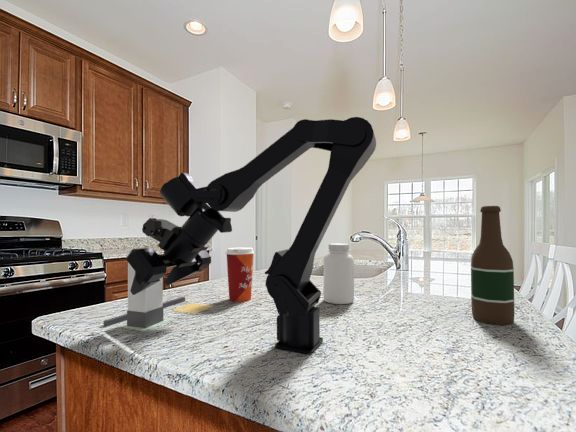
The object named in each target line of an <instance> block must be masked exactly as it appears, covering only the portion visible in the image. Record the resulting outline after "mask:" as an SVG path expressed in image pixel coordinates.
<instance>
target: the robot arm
mask: <svg viewBox="0 0 576 432" xmlns="http://www.w3.org/2000/svg"><path fill="white" fill-rule="evenodd" d="M312 148H313V149H318V150H323V151H328V152H330V154H329V163H328V168H327V171H326V173H325V175H324V177H323V179H322V182H321V183H320V185H319V187H318V190H317V192H316V194H315V196H314V198H313V201H312V202H311V205H310V206H309V208H308V211H307V213H306V214H305V217H304V219H303V220H302V223H301V225H300V228H299V229H298V231H297V234H296V235H295V238H294V240H293V242H292V244H291V245H290V247H289V248H288V249H283V250H278V251H276V252H274V254H273V256H272V261H271V263H270V265H269V267H268V269H267V270H266V271H265V272H264V274H265V275H267V276H266V279H265V285H264V286H265V287H266V290H267V293H268V295H269V296H270V298H272V299H273V302H274V306H275V308H276V311H277V313H278V315H277V316H276V340H277V342H275V344H274V348H275V349H281V350H286V351H293V352H298V353H302V354H312V353H314V351H315V350H317V348H318V347H319V345H321V344H322V342H323V341H324V338H323V337H321V335H320V332H321V331H320V307H317V306H316V305H317V304H319V301H320V299H321V296H322V291H320V289H319V288H318V286H316V285H315V284H314V282H312V281H311V280H310V279H311V276H312V272H313V269H314V263H315V257H316V252H317V250H318V249H319V246H320V245H321V243H322V240H323V239H324V236H325V234H326V232H327V230H328V228H329V226H330V224H331V222H332V220H333V217H334V216H335V214H336V212H337V209H338V208H339V206H340V204H341V202H342V199H343V198H344V195H345V194H346V191H347V189H348V188H349V186H350V183H351V181H352V180H353V179H354V178H355V177H356V176H357V175H358V173H359V172H360V171H361V170H362V169H363V168H364V166H365V165H366V163H367V162H368V161H369V160H370V158H371V157H372V156H373V154H374V152H375V151H376V148H377V138H376V136H375V133H374V129H373V125H372V124H371V123H370V122H369V121H368V120H367V119H365V118H363V117H359V116H353V117H349V118H347V119H344V120H343V119H342V120H341V119H340V120H339V119H333V118H332V119H317V120H313V119H306V118H304V119H300V120H298V121H296V123H295V124H294V126H293V127H292V128H290V129H289V130H288V131H287V132H285V133H284V134H283V135H282V136H280V137H279V138H278V139H276V141H274V142H273V143H272V144H271V145H269V146H268V147H267V148H265V149H264V150H262V151H261V152H260V153H259V154H258V155H256V156H255V157H254V158H253V159H251V160H250V161H248V162H247V163H246V164H245V165H244V166H242V167H240V168H239V169H235V170H232V171H230V172H225V173H224V174H222V175H220V176H218V177H217V178H214V179H213V180H212V181H210V182H209V183H208V184H207V186H202V187H200V186H199V185H198V183H196V182H195V181H194V180H195V179H194V178H193V177H192V176H191V175H190V174H189V173H186V172H181V173H180V174H179V175H178V176H176V177H173V178H171V179H170V180H168V181H167V182H164V183H163V185H162V186H161V188H160V190H159V195H160V197H162V198H163V200H164V201H165V202H166V203H167V204H168V206H170V208H171V209H172V210H173V211H174V212H175V214H177V216H179V217H188V218H187V220H186V221H185V222H184V223H183V224H182V225H181V226H178V225H177V224H175V223H173V222H171V221H170V220H167V219H163V218H161V219H160V218H158V219H157V218H153V217H152V218H151V217H150V218H148V219H147V220H146V221H145V222H144V223H143V225H142V228H141V231H142V233H143V234H145V235H146V237H150V238H152V239H154V240H156V241H157V242H159V243H157V247H159V249H160V250H162V251H163V255H159V254H158V253H157V252H156V250H155V249H154V248H153V247H139V248H133V249H131V250H130V252H129V253H128V254H127V255H126V258H125V259H126V261H127V263H129V264H130V265H131V266H132V268H133V269H134V270H135V276H134V279H133V283H132V287H131V290H130V291H131V293H132V294H133V295H135V294H137V293H139V292H141V291H143V290H145V289H146V288H148V287H150V286H152V285H153V284H155V283H157V282H159V281H160V278H162V277H163V278H164V276H165V275H166V274H167V273H168V269H169V268H172V269H171V270H170V271H169V273H168V275H167V276H166V278H165V280H164V282H163V284H165V286H166V287H167V286H171V285H172V284H175V283H176V282H180V280H183V279H185V278H187V277H189V276H193V275H194V274H196V273H199V272H201V271H202V270H205V269H208V267H209V266H210V265H211V263H212V256H211V255H210V254H209V252H208V251H207V249H208V248H210V245H208V243H209V242H210V241H211V239H213V237H214V236H215V235H216V234H217V232H219V233H222V234H223V233H231V232H233V227H232V223H231V221H232V219H231V217H225V216H223V214H222V213H221V212H228V213H229V212H231V213H236V212H239V211H241V210H242V209H244V208H245V206H247V204H248V203H249V202H250V201H251V200H252V199H253V198H254V197H255V195H256V193H257V191H258V189H260V188H261V186H262V185H264V184H265V183H266V182H268V181H269V180H270V179H271V178H273V177H274V176H276V175H277V174H278V173H280V172H281V171H282V170H283V169H285V168H286V167H287V166H289V165H290V164H291V163H293V162H294V161H295V160H296V159H298V158H299V157H301V156H302V155H303V154H305V153H306V152H307V151H309V150H310V149H312Z"/></svg>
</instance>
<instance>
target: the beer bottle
mask: <svg viewBox="0 0 576 432" xmlns="http://www.w3.org/2000/svg"><path fill="white" fill-rule="evenodd" d="M501 211H502V209H501V207H500V206H499V205H483V206H481V207H480V210H479V212H480V213H481V224H480V238H479V243H478V244H477V246H476V247H475V249H474V250H473V253H472V256H471V259H470V260H471V261H470V288H471V289H470V291H471V293H470V295H471V302H470V303H471V315H472V317H473V318H474V320H475V321H477V322H481V323H483V324H484V323H485V324H488V325H497V326H507V325H512V324H514V323H515V281H514V280H515V279H514V278H515V275H514V274H515V273H514V271H515V270H514V261H513V259H512V255H511V254H510V251H508V249H507V248H506V247H505V245H504V242H503V238H502V237H503V236H502V230H501V229H502V228H501V227H502V226H501V219H500V218H501V217H500V213H501Z"/></svg>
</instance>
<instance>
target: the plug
mask: <svg viewBox="0 0 576 432" xmlns="http://www.w3.org/2000/svg"><path fill="white" fill-rule="evenodd" d="M134 276H135V270H134V269H133V268H132V266H131V265H130V264H129V262H127V311H126V314H127V320H126V323H127V326H132V327H139V328H147V327H150V326H152V325H155V324H157V323H159V322H162V321H163V319H164V308H163V303H164V301H163V297H164V296H163V295H164V288H163V287H164V286H163V285H164V282H163V279H164V276H163V277H162V278H160V281H159V282H157V283H155V284H153V285H152V286H150V287H148V288H146V289H145V290H143V291H141V292H139V293H137V294H135V295H133V294H132V293H131V291H130V290H131V287H132V283H133V279H134Z"/></svg>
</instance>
